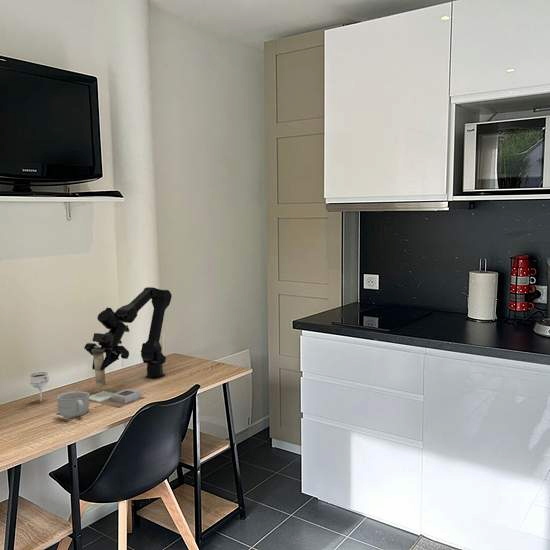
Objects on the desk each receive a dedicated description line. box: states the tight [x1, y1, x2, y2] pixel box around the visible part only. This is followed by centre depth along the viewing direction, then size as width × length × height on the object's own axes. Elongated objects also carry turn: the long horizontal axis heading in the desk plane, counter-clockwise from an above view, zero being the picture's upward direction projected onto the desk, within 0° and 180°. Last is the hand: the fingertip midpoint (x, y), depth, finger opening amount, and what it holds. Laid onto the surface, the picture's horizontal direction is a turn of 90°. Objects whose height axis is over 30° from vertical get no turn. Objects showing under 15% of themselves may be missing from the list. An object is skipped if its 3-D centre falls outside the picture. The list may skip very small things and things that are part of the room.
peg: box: [92, 346, 107, 387], centre depth 213 cm, size 5×5×14 cm
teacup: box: [56, 391, 90, 420], centre depth 196 cm, size 14×11×8 cm
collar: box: [111, 388, 142, 404], centre depth 211 cm, size 8×8×2 cm
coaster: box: [89, 390, 114, 404], centre depth 214 cm, size 9×9×1 cm
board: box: [89, 388, 146, 409], centre depth 213 cm, size 13×22×1 cm, turn 56°
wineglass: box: [29, 371, 50, 403], centre depth 211 cm, size 7×7×12 cm
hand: (97, 369), depth 212 cm, fingers closed on peg, 4 cm apart
